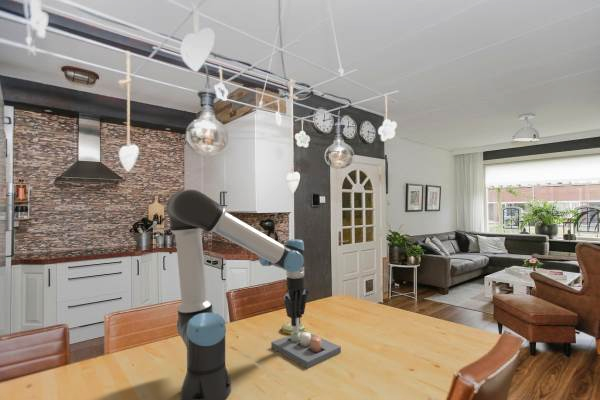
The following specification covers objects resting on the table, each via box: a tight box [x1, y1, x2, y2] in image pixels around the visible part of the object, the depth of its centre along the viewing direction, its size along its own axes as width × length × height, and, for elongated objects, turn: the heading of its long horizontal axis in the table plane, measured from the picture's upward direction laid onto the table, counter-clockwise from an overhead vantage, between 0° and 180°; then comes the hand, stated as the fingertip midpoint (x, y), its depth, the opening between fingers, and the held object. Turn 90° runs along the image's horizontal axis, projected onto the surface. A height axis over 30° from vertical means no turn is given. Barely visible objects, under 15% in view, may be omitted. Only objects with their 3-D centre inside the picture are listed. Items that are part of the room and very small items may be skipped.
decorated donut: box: [281, 321, 306, 335], centre depth 145 cm, size 10×11×4 cm
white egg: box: [300, 331, 312, 347], centre depth 125 cm, size 4×4×4 cm
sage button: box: [291, 332, 300, 344], centre depth 129 cm, size 4×4×4 cm
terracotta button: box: [310, 336, 322, 352], centre depth 121 cm, size 4×4×4 cm
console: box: [271, 329, 342, 369], centre depth 125 cm, size 18×22×3 cm
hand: (296, 332), depth 130 cm, fingers closed
